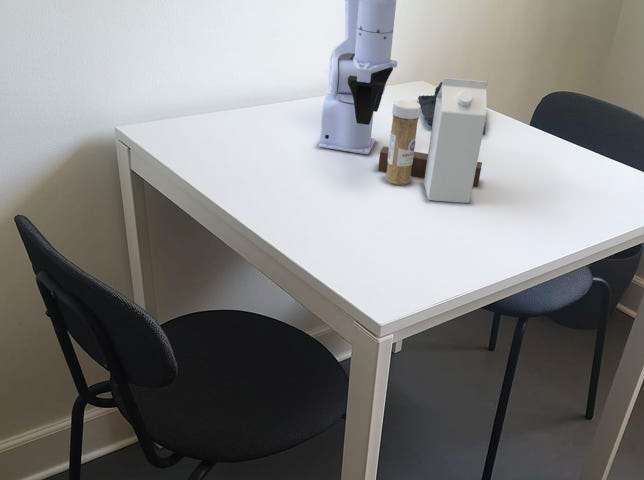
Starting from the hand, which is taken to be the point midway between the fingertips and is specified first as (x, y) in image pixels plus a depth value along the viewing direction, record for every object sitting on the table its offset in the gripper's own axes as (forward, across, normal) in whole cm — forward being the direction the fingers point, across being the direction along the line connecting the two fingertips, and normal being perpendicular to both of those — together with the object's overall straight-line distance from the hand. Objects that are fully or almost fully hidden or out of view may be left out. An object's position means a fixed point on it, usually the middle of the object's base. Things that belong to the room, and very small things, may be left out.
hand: (367, 116), depth 120 cm
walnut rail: (+10, +5, -11) cm, 16 cm away
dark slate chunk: (+10, +40, -12) cm, 42 cm away
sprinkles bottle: (+11, +1, -6) cm, 12 cm away
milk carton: (+11, -1, -15) cm, 19 cm away
